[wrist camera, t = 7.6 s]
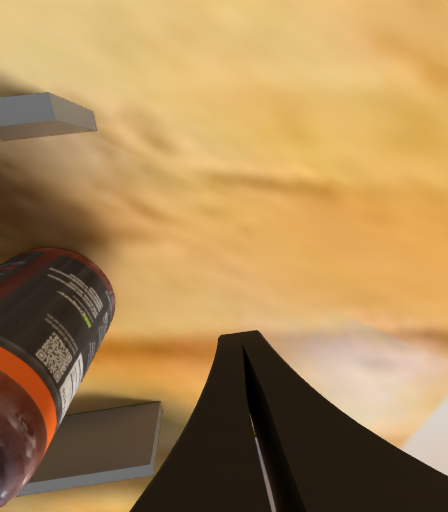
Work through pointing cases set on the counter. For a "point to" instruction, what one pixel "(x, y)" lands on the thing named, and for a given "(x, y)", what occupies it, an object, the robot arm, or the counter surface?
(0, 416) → the supplement bottle
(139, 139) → the counter surface
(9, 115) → the box
